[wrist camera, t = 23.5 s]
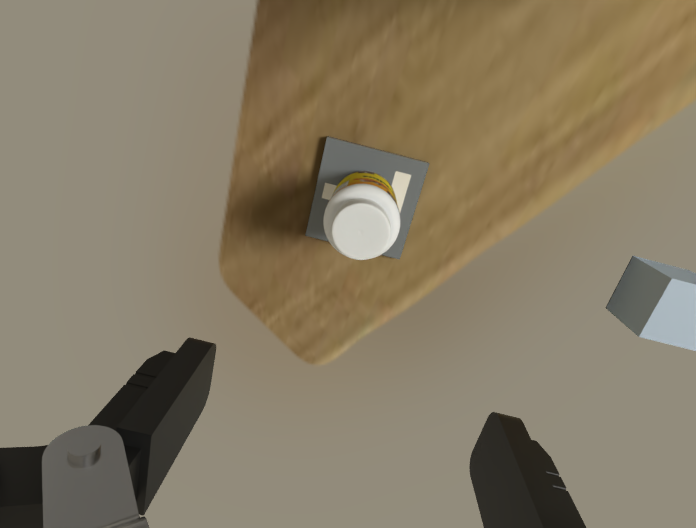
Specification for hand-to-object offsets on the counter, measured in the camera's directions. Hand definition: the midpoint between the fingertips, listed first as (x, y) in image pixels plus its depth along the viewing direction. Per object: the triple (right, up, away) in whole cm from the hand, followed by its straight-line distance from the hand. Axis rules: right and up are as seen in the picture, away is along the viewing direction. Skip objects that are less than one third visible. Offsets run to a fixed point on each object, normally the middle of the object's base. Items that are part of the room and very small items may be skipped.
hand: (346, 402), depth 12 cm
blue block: (+28, +2, +28) cm, 40 cm away
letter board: (+2, +10, +26) cm, 28 cm away
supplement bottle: (+1, +10, +26) cm, 28 cm away
